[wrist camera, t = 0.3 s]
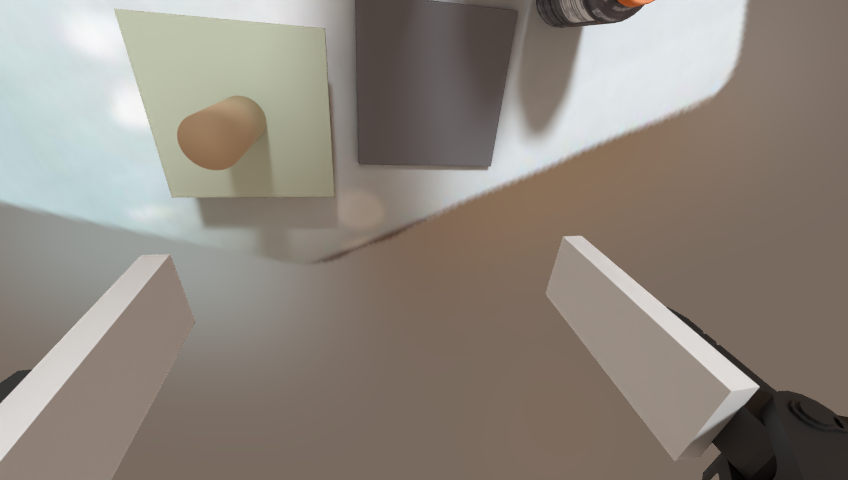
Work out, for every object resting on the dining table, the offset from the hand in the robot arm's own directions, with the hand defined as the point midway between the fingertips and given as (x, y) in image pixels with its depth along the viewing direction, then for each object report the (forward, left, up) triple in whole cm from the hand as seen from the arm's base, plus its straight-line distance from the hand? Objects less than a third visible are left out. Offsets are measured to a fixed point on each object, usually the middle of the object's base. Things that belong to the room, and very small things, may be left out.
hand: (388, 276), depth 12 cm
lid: (-1, -10, -23) cm, 25 cm away
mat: (-3, +7, -27) cm, 28 cm away
